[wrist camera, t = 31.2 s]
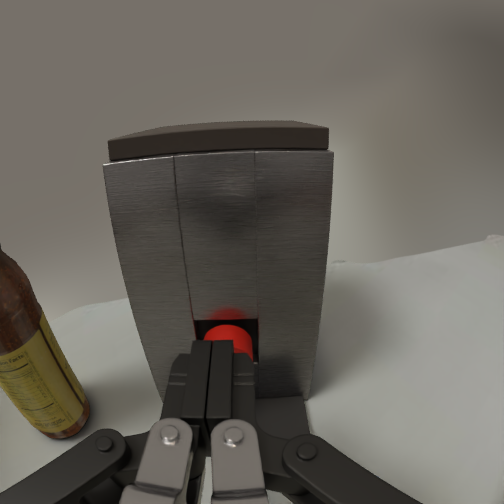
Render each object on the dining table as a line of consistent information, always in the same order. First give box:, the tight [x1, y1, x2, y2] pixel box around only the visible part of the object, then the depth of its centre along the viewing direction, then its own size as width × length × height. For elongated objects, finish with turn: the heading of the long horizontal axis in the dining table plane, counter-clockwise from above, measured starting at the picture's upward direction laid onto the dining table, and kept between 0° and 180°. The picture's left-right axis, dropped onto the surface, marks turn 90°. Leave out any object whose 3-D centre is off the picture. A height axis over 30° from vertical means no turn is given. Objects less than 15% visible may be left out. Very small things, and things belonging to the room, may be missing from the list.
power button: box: [204, 325, 253, 361], centre depth 19 cm, size 2×3×3 cm, turn 92°
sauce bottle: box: [0, 245, 90, 438], centre depth 15 cm, size 6×6×20 cm
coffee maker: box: [103, 121, 334, 456], centre depth 22 cm, size 18×12×20 cm, turn 2°
